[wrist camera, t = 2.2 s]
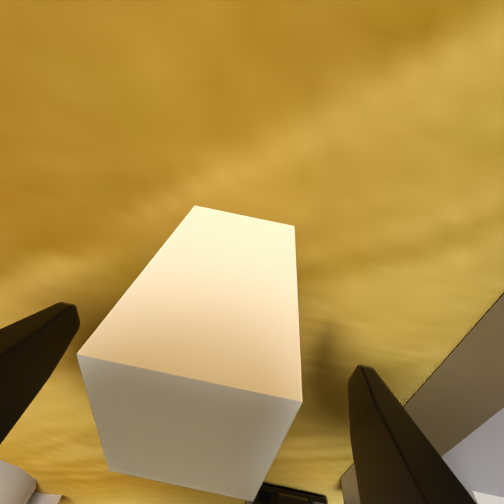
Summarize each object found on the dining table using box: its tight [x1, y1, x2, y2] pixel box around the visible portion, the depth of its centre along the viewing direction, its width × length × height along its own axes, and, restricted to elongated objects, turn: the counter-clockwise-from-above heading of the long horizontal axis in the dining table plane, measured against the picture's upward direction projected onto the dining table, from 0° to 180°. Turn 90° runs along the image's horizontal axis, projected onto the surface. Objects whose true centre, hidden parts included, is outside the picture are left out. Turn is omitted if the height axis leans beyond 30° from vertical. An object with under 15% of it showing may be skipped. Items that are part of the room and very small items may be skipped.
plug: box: [76, 206, 303, 502], centre depth 9 cm, size 5×4×7 cm
